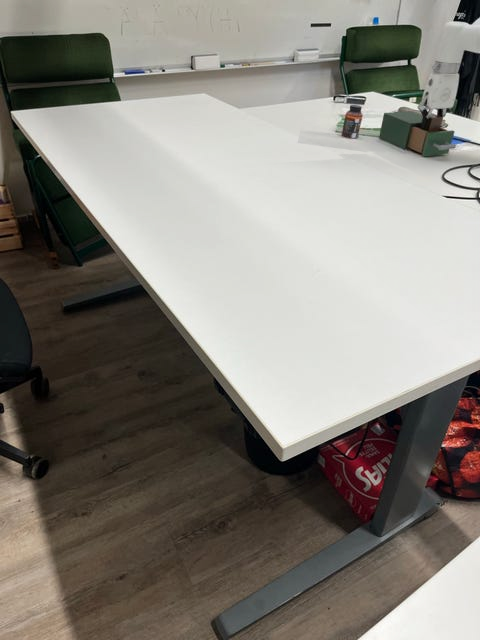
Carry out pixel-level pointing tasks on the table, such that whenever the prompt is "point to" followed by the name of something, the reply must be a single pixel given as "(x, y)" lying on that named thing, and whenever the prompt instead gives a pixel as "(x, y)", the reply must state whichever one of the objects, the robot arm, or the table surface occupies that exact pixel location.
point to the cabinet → (399, 127)
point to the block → (435, 123)
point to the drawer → (430, 141)
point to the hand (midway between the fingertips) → (429, 128)
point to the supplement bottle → (352, 122)
